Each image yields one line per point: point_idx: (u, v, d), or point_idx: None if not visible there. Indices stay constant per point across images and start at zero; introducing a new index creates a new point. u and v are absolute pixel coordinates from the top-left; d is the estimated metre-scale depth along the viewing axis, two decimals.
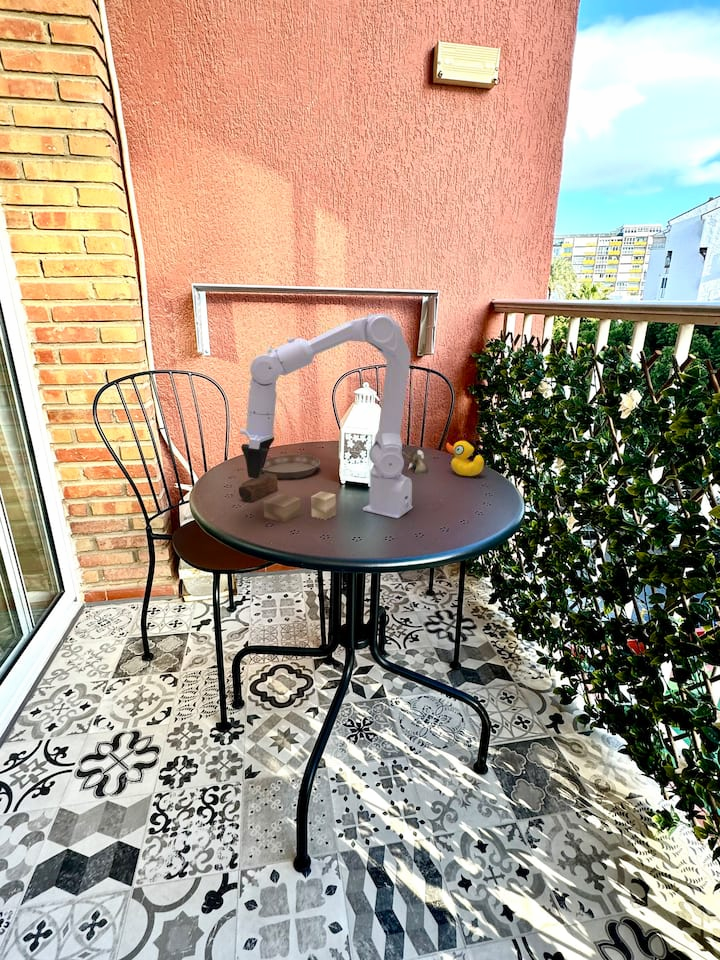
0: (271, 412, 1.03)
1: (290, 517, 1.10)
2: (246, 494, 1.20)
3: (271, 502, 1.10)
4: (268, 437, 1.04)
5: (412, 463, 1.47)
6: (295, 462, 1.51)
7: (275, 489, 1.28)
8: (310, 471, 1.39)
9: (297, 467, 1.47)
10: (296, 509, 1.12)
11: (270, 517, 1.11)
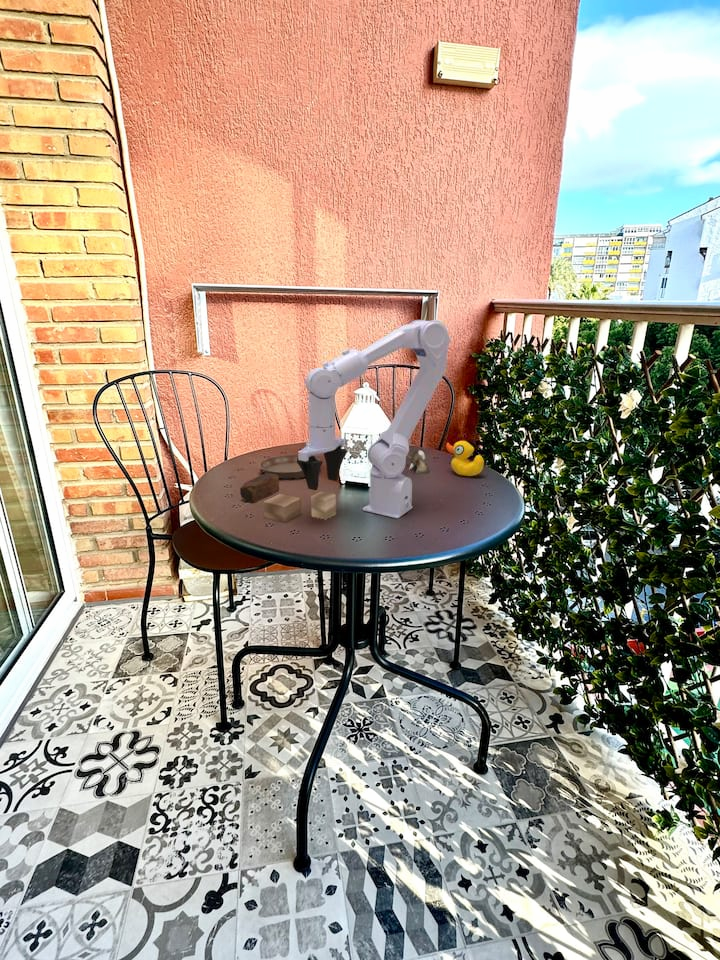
0: (333, 423, 1.05)
1: (290, 517, 1.10)
2: (247, 494, 1.20)
3: (271, 502, 1.10)
4: (323, 450, 1.04)
5: (413, 464, 1.46)
6: (295, 462, 1.51)
7: (276, 489, 1.27)
8: None
9: (297, 467, 1.47)
10: (296, 509, 1.12)
11: (270, 517, 1.11)
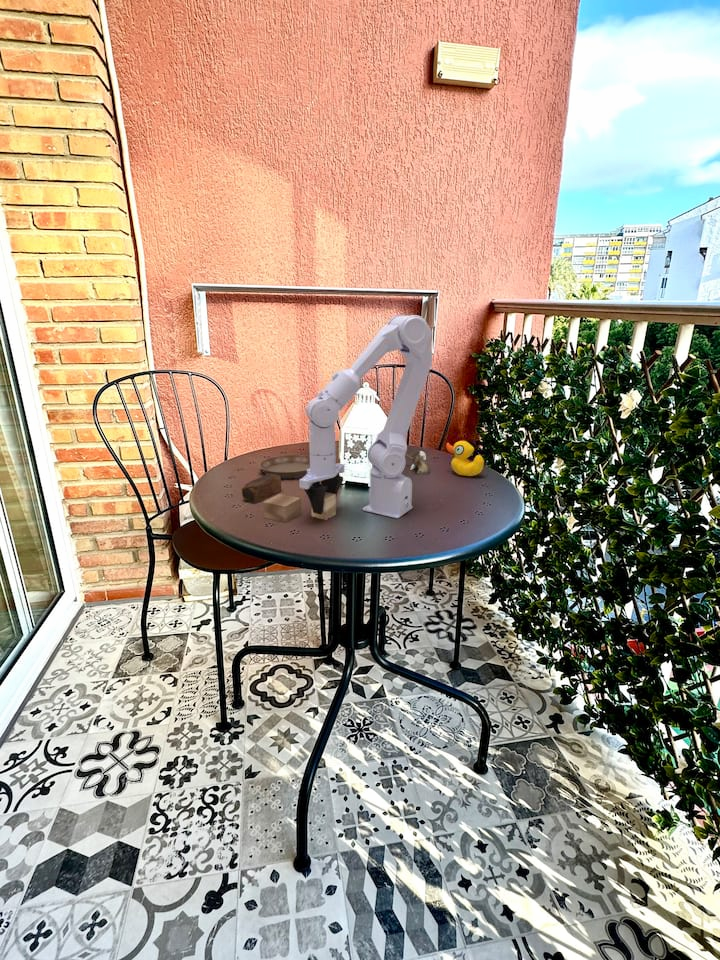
0: (333, 451, 1.07)
1: (291, 517, 1.10)
2: (249, 495, 1.19)
3: (271, 502, 1.10)
4: (324, 477, 1.06)
5: (414, 464, 1.46)
6: (295, 462, 1.51)
7: (279, 490, 1.27)
8: None
9: (297, 467, 1.47)
10: (296, 508, 1.12)
11: (270, 517, 1.11)
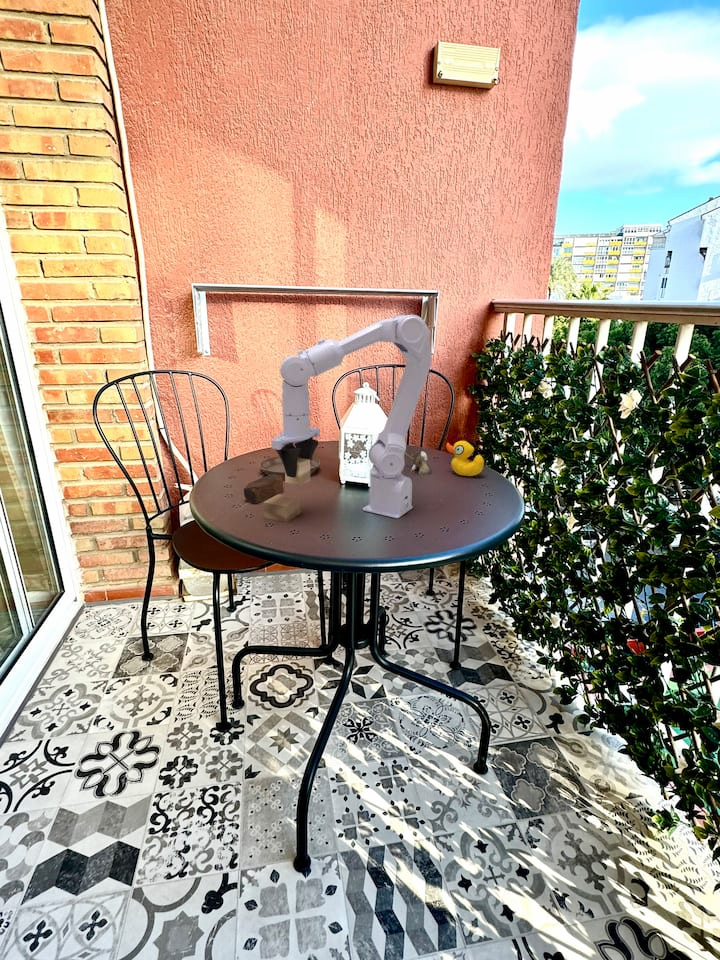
0: (307, 412, 1.04)
1: (291, 517, 1.11)
2: (251, 495, 1.19)
3: (271, 502, 1.10)
4: (297, 438, 1.03)
5: (415, 465, 1.45)
6: None
7: (281, 490, 1.27)
8: (310, 471, 1.39)
9: None
10: (296, 508, 1.12)
11: (271, 517, 1.11)
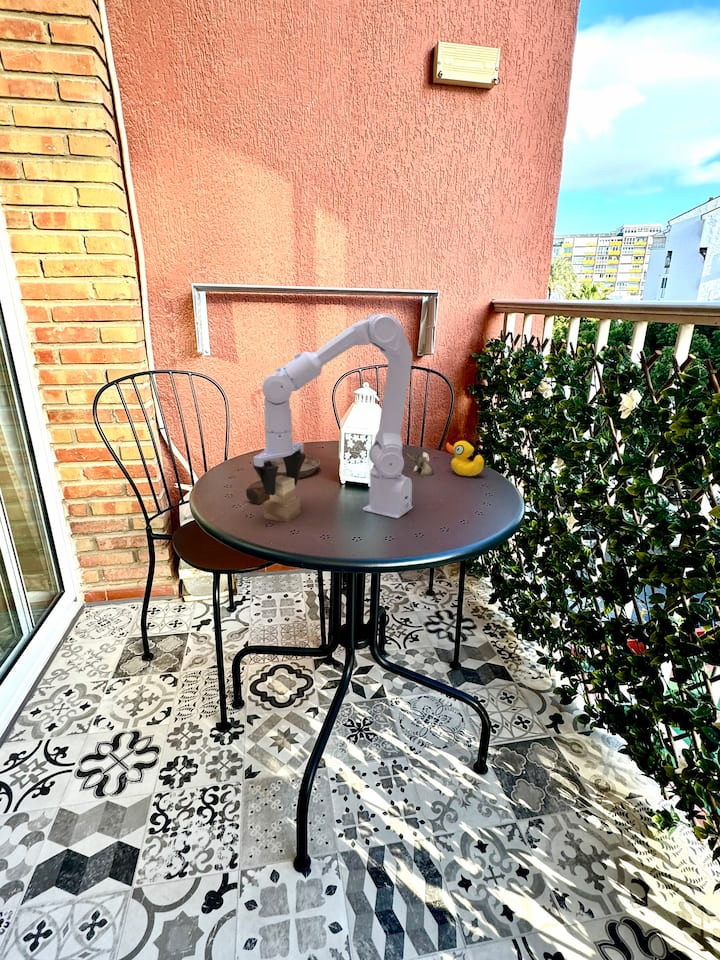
0: (288, 429, 1.05)
1: (291, 517, 1.11)
2: (253, 496, 1.19)
3: (272, 502, 1.10)
4: (279, 455, 1.05)
5: (417, 466, 1.44)
6: None
7: None
8: (310, 471, 1.39)
9: None
10: (296, 508, 1.12)
11: (271, 518, 1.10)
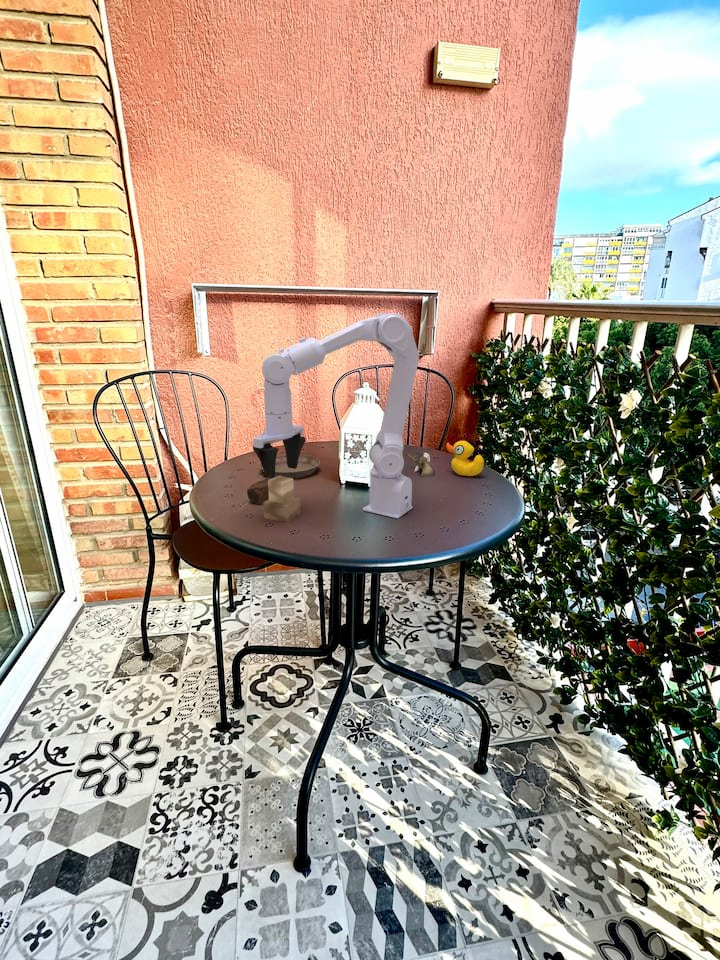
0: (288, 410, 1.04)
1: (291, 517, 1.11)
2: (254, 496, 1.19)
3: (272, 502, 1.10)
4: (279, 437, 1.03)
5: (418, 466, 1.44)
6: None
7: None
8: (310, 471, 1.39)
9: (297, 467, 1.47)
10: (296, 508, 1.12)
11: (271, 518, 1.10)
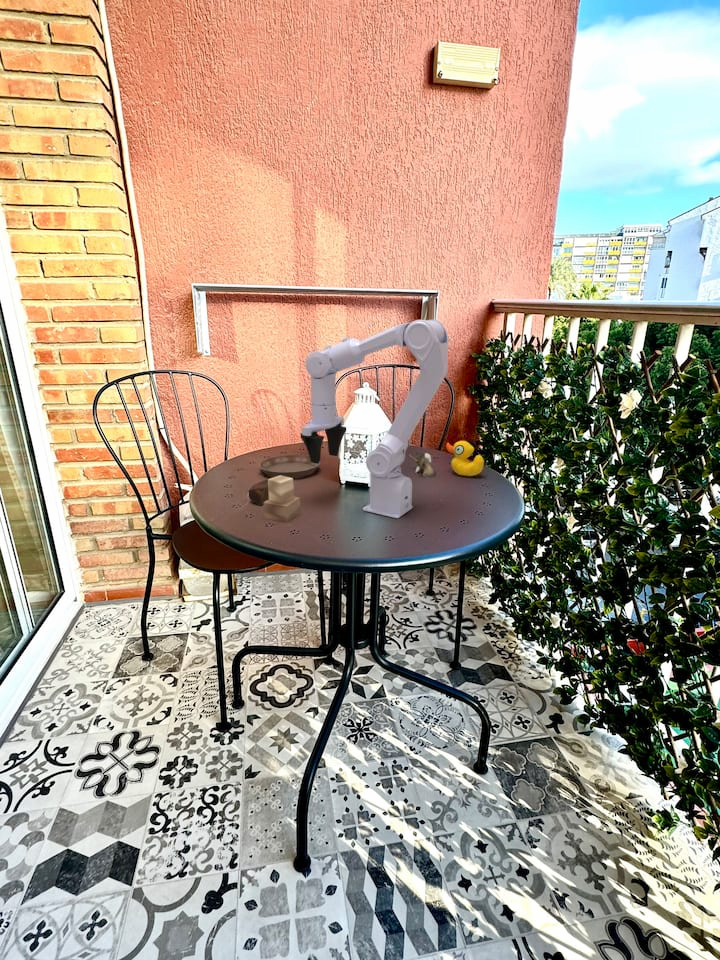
0: (327, 403, 1.13)
1: (291, 516, 1.11)
2: (255, 497, 1.18)
3: (272, 502, 1.10)
4: (325, 426, 1.14)
5: (419, 467, 1.43)
6: (295, 462, 1.51)
7: None
8: (310, 471, 1.39)
9: (297, 467, 1.47)
10: (296, 508, 1.12)
11: (271, 518, 1.10)
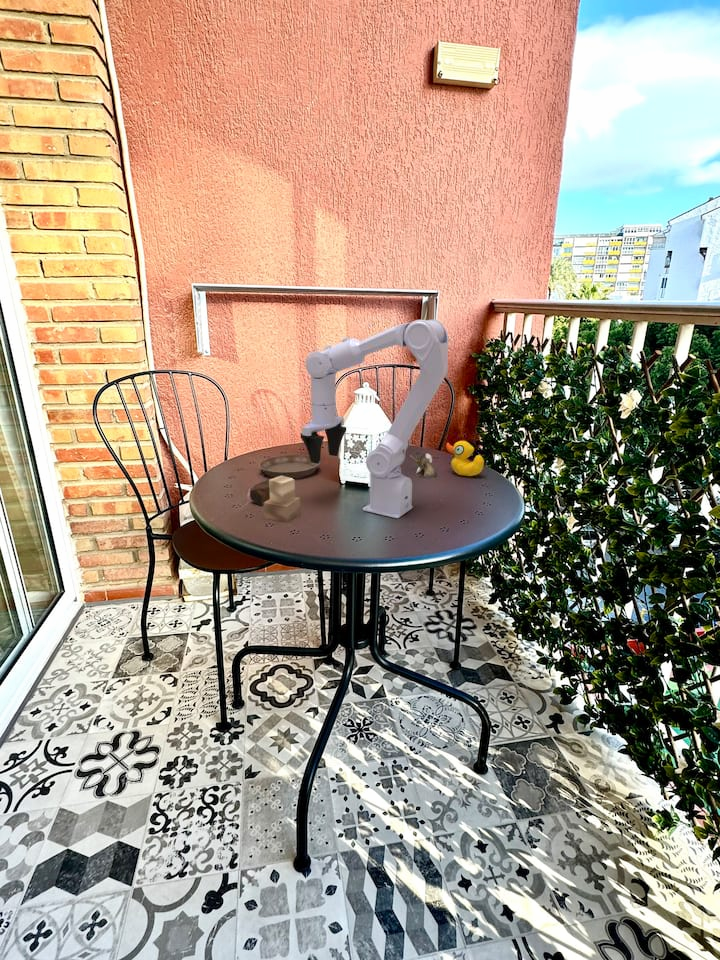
0: (327, 403, 1.13)
1: (292, 517, 1.11)
2: (257, 497, 1.18)
3: (272, 502, 1.10)
4: (325, 426, 1.14)
5: (420, 467, 1.43)
6: (295, 462, 1.51)
7: None
8: (310, 471, 1.39)
9: (297, 467, 1.47)
10: (296, 508, 1.12)
11: (271, 518, 1.10)
